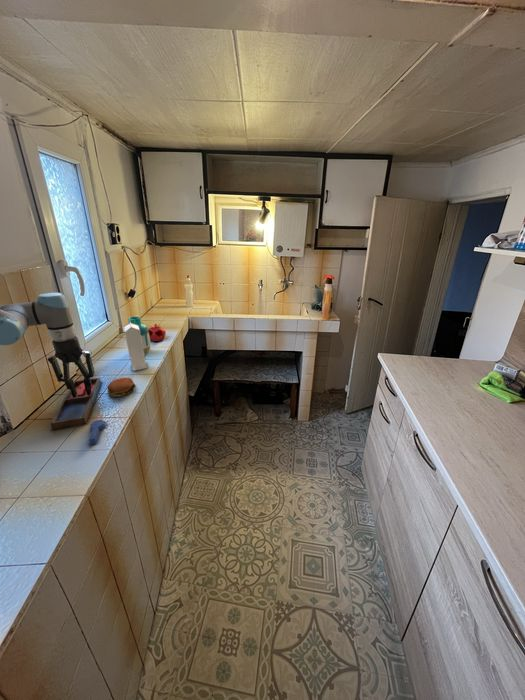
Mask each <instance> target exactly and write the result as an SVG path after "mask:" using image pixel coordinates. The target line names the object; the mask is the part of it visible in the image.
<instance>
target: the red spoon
mask: <svg viewBox="0 0 525 700" xmlns="http://www.w3.org/2000/svg"><path fill="white" fill-rule="evenodd" d="M79 387H80V391H79V393H78V397H82V396H85V394H86V389H85V385H84V383H82V384H80V385H79ZM91 387H92V386H90V388H91Z"/></svg>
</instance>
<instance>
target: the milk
mask: <svg viewBox="0 0 525 700" xmlns="http://www.w3.org/2000/svg"><path fill="white" fill-rule="evenodd" d="M123 331H124V336H125V341H126V345H127V351H128V355H129V360H130V364H131V368H132V371H133V372H134V371H139V370H144V369H147V368H148V366H147V361H146V357H145V354H144V351H143V345H142V340H141V335H140V330H139V327H138V326H137V325H135V324H132V323H130V324H129V323H128V324H127V325H125V326H124V327H123Z"/></svg>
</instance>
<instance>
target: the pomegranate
mask: <svg viewBox="0 0 525 700" xmlns="http://www.w3.org/2000/svg"><path fill="white" fill-rule="evenodd" d="M148 332H149V336H150V342H161V341H164V339H165V337H166V333H167V331H166V329H164V328H163V327H162V326H161V325H158V324H157V323H155V324H154V325H153V326H151V327H149V328H148Z"/></svg>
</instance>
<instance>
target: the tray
mask: <svg viewBox="0 0 525 700" xmlns="http://www.w3.org/2000/svg"><path fill="white" fill-rule="evenodd" d="M90 379H91V382H92V384H91V386H92V387H91V388H90V389H91V393H90V395H87V392H86V394H85V396H82V397H78V393H79V391H80V387H79V385H80V384H82V383H84V382H83V380H84V379H78V380H73V382H74V385H75V388H76V392H77V395H76V397H74V398H73V396H72V393H71V390H70V389H67V390H68V391H67V392H66V393H65V396H64V398H63V400H61V403H60V405H59V407H58V409H57V411H56V413H55V414H54V416H53V418H52V420H51V422H50V426H51V429H52V430H53V431H54V430H60V429H65V428H70V427H71V428H72V427H77V426H82V425H87V423H88V420H89V417H90V415H91V412H92V409H93V407H94V404H95V401H96V398H97V396H98V393H99V390H100V388H101V385H102V380H101V377H100V376H99V377H91V378H90Z"/></svg>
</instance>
